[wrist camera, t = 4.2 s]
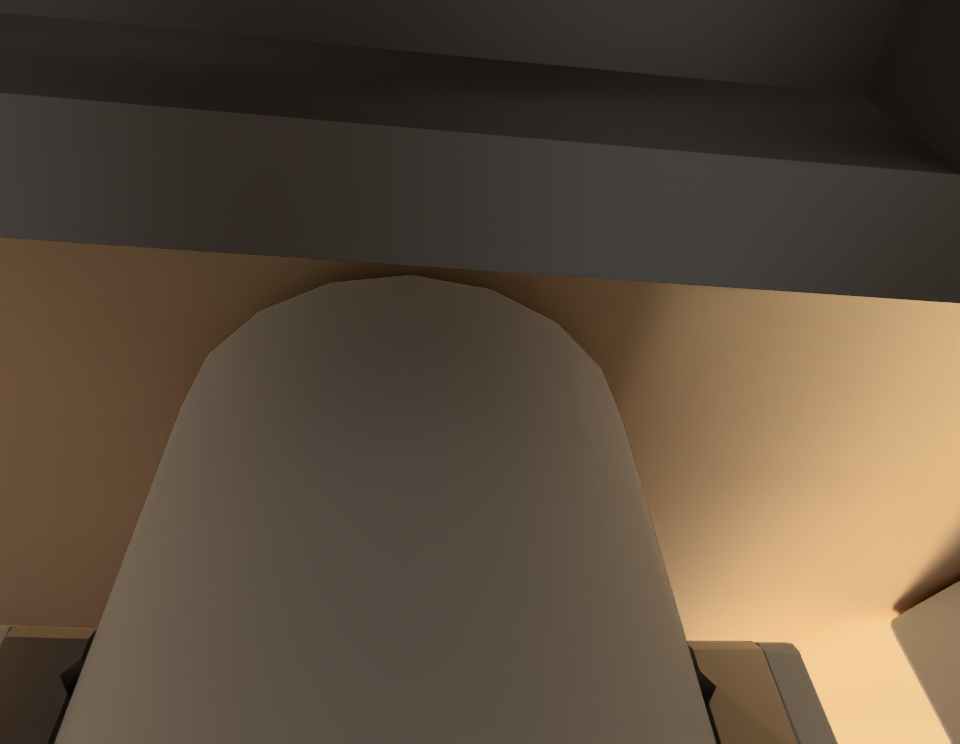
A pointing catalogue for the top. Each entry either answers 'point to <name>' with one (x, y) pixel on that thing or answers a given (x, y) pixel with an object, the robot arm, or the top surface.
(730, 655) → the robot arm
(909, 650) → the milk carton
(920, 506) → the top surface
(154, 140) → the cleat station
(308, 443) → the can
